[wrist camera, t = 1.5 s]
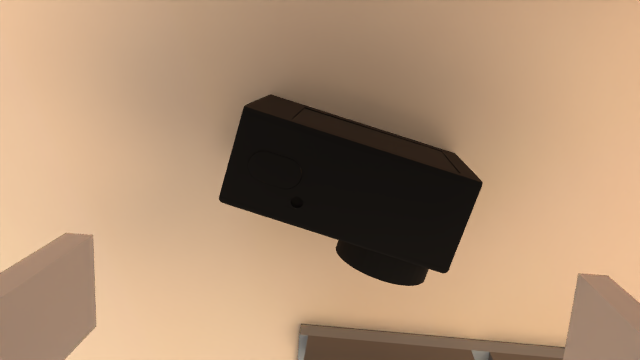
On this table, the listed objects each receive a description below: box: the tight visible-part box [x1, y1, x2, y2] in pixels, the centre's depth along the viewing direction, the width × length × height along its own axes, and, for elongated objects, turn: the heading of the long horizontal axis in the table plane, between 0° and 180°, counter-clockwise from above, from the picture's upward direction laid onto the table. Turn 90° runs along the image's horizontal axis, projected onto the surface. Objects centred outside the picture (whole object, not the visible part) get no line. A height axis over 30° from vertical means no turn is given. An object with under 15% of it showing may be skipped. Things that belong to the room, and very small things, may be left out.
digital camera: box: [219, 95, 483, 286], centre depth 26 cm, size 10×5×7 cm, turn 73°
